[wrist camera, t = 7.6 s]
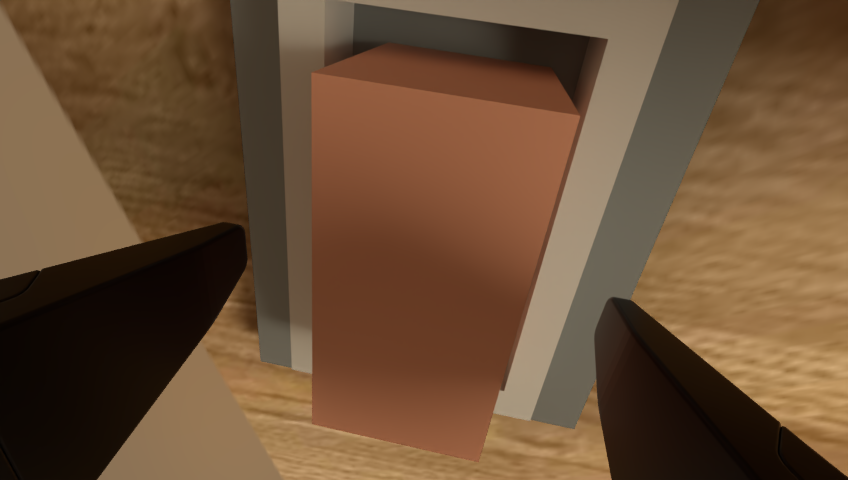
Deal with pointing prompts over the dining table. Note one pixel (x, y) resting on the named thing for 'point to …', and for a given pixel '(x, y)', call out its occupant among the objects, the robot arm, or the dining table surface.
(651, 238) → the pocket board
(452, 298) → the block
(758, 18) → the dining table surface
